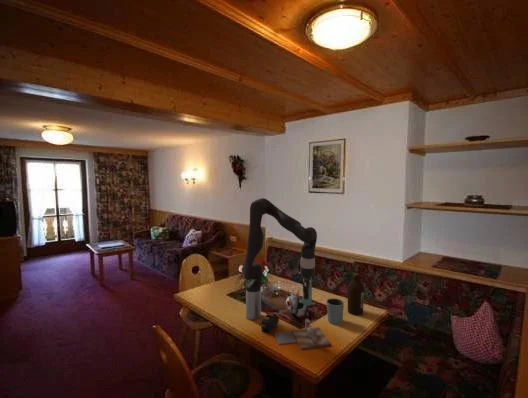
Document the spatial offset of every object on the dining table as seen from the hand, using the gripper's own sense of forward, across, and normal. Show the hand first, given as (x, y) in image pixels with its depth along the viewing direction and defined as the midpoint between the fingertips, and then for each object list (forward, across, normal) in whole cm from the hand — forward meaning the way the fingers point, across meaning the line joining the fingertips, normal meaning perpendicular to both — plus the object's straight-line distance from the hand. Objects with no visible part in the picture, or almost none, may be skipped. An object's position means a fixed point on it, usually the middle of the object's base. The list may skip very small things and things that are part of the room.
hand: (307, 296), depth 149 cm
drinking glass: (+23, -23, +14) cm, 35 cm away
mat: (+23, +4, -10) cm, 25 cm away
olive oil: (+23, -39, +25) cm, 52 cm away
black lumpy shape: (+23, -3, -21) cm, 32 cm away
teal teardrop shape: (+4, 0, 0) cm, 4 cm away
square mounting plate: (+23, 0, +2) cm, 23 cm away
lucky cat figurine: (+23, -25, -10) cm, 36 cm away
